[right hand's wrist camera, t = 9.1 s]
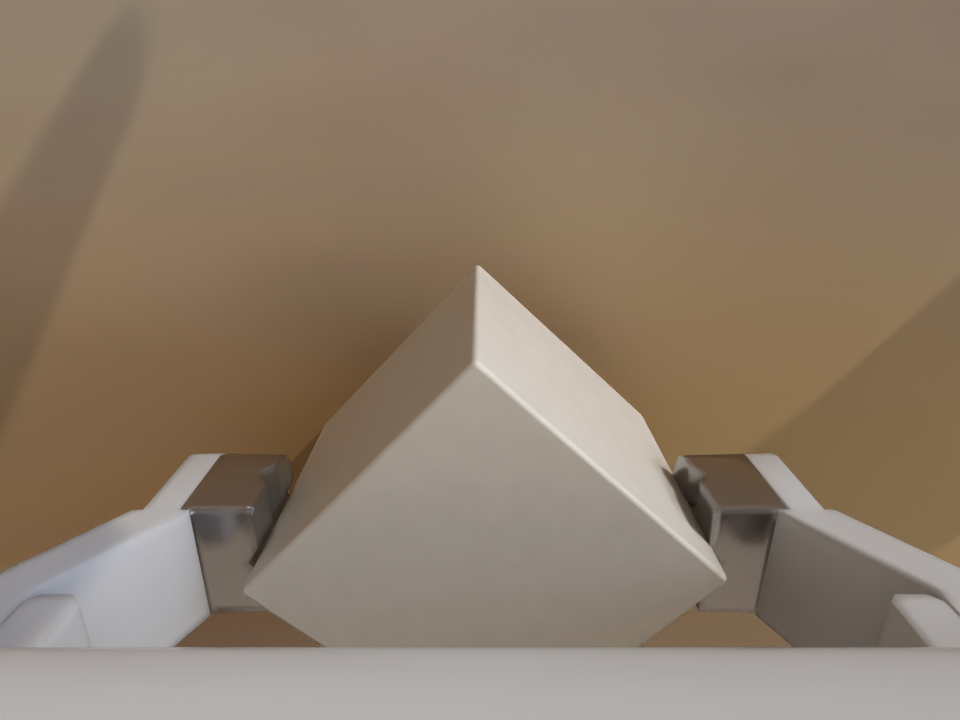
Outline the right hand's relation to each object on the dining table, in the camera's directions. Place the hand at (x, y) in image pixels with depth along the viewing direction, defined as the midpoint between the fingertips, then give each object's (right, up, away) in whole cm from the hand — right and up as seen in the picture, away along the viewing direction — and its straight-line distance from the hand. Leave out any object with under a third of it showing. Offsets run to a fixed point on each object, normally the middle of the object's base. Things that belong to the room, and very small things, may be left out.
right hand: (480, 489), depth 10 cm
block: (0, +1, +2) cm, 2 cm away
